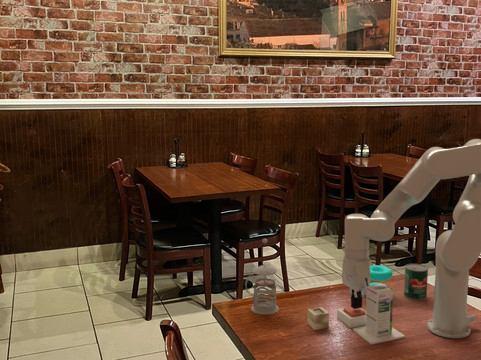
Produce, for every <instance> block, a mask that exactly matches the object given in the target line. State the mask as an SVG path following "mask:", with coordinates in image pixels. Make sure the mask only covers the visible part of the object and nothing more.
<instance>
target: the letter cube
mask: <svg viewBox="0 0 481 360" xmlns="http://www.w3.org/2000/svg"><path fill="white" fill-rule="evenodd" d="M306 312H307V314H306V315H307V317H306V319H307V321H306V322H307V325H308V326H309V327H310V328H312V330H313V331H316V330H317V331H318V330H322V329H328V328H329V325H330V322H329V319H330V312H329V311H327V310H326V309H325V308H323V307H322V306H320V307H313V308H308V309H307V311H306Z"/></svg>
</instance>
